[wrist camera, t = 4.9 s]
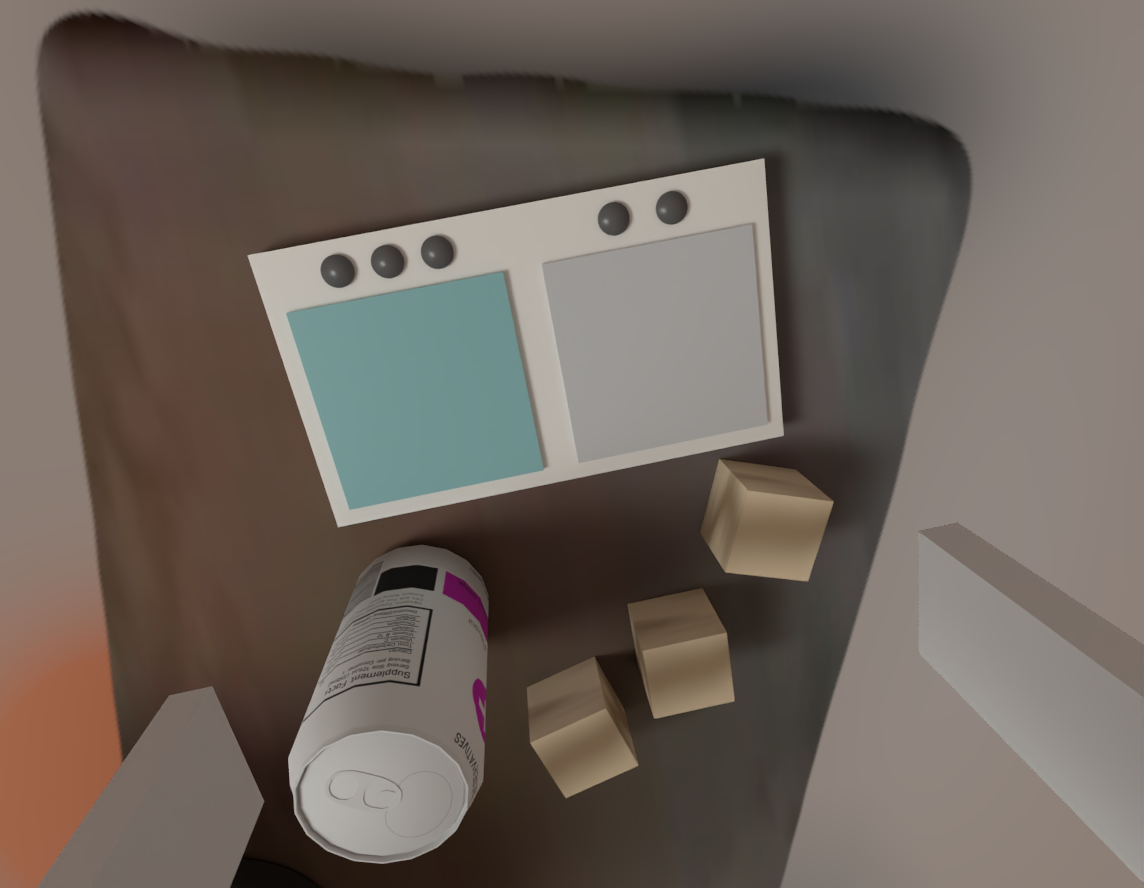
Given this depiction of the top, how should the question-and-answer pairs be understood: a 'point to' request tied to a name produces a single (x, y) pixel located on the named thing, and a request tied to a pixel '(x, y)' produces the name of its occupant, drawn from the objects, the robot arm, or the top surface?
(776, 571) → the maple block
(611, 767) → the maple block
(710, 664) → the maple block
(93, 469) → the top surface
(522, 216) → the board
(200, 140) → the top surface
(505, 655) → the top surface
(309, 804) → the supplement can
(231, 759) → the robot arm
